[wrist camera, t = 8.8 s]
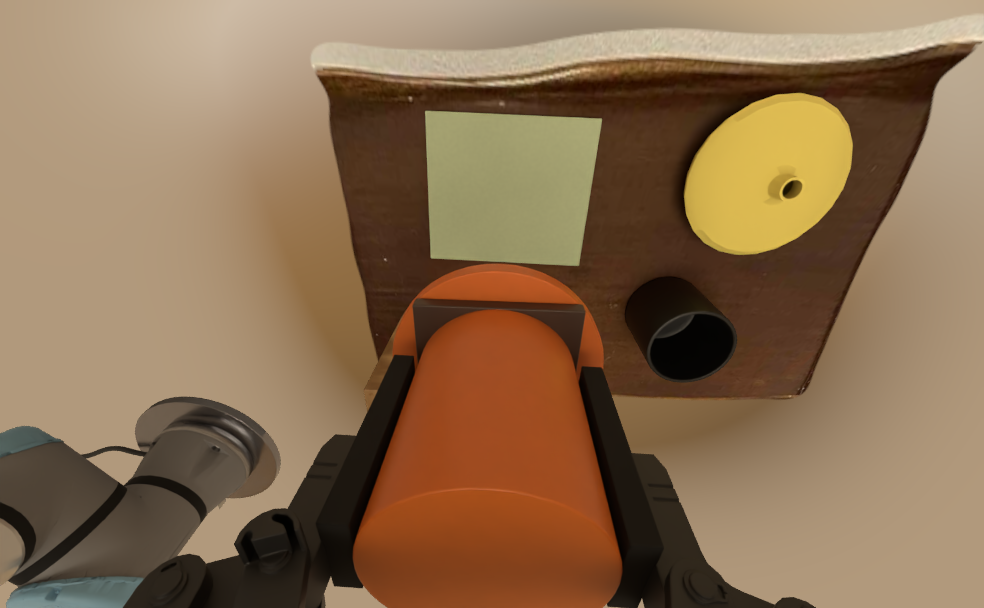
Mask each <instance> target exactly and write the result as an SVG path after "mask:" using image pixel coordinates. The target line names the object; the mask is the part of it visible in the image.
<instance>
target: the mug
mask: <svg viewBox="0 0 984 608" xmlns="http://www.w3.org/2000/svg"><path fill="white" fill-rule="evenodd" d="M625 318H626V323H627V325H628V328H629V329H630V331H631V333H632V335H633V337H634V339H635V340H636V342H637V344H638V346H639V348H640V350H641V351H642V353H643V355H644V357H645V359H646V361H647V363H648V364H649V366H650V368H651V369H652V370H653V371H654V372H655V373H656V374H657V375H658V376H660V377H662V378H664V379H666V380H669V381H673V382H693V381H698V380H701V379H704V378H706V377H709V376H711V375H712V374H714V373H716V372H717V371H719V370H720V369H721V368H722V367H724V366H725V365H726V364H727V362H728V361H729V360H730V359H731V357H732V355H733V353H734V351H735V348H736V344H737V334H736V330H735V328H734V326H733V324H732V323H731V322H730V321H729V320H728V319H727V318H726V317H725V316H724V315H723V314H722V313H721V312H720V311H719V310H718V309H717V308H716V307H715V306H714V305H713V304H712V303H711V302H710V301H709V300H708V299H707V298H706V297H705V296H704V295H702V294H701V293H700V292H699V291H698V290H697V289H696V288H695V287H694V286H693V285H692V284H691V283H689V282H687V281H685V280H683V279H680V278H670V277H666V278H659V279H656V280H653V281H650V282H648V283H646V284H645V285H643V286H642V287H640V288H639V289H638V290H637V291H636V292H635V293H634V294H633V295H632V297H631V298H630V300H629V302H628V305H627V308H626V313H625Z"/></svg>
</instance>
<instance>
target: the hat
mask: <svg viewBox="0 0 984 608" xmlns="http://www.w3.org/2000/svg"><path fill="white" fill-rule="evenodd" d="M392 355H393V357H394V355H410V356H414V362H415V374H414V377H413V380H412V383H411V385H410V388H409V391H408V394H407V397H406V399H405V402H404V405H403V408H402V410H401V413H400V416H399V419H398V422H397V424H396V427H395V430H394V433H393V436H392V438H391V441H390V444H389V447H388V449H387V452H386V455H385V458H384V461H383V463H382V466H381V469H380V472H379V474H378V477H377V480H376V483H375V486H374V488H373V491H372V494H371V497H370V499H369V502H368V505H367V508H366V511H365V513H364V516H363V519H362V522H361V525H360V527H359V530H358V533H357V536H356V539H355V542H354V545H353V563H354V568H355V571H356V573H357V576H358V578H359V579H360V581H361V583H362V584H363V586H364V587H365V588H366V589H367V590H368V592H369V593H370V594H371V595H372V596H373V597H375V598H376V599H377V600H378V601H379V602H380V603H382V604H383V605H385V606H386V607H387V608H603V607H604V606H605V605H606V604H607V603H608V602H609V601H610V600H611V598H612V597H613V596H614V594H615V593H616V591H617V589H618V587H619V585H620V582H621V577H622V559H621V555H620V551H619V546H618V542H617V538H616V534H615V530H614V526H613V522H612V518H611V514H610V510H609V506H608V501H607V497H606V493H605V489H604V485H603V481H602V477H601V473H600V469H599V465H598V461H597V456H596V452H595V448H594V444H593V440H592V436H591V432H590V428H589V424H588V420H587V416H586V412H585V407H584V403H583V399H582V395H581V391H580V387H579V378H580V373H581V367H582V366H588V367H602V369H603V364H604V354H603V346H602V341H601V337H600V334H599V332H598V329H597V327H596V324H595V322H594V319H593V317H592V315H591V314H590V312H589V310H588V308H587V307H586V306H585V304H584V303H583V302H582V301H581V299H580V298H579V297H578V296H577V295H576V294H575V293H574V292H573V291H571V290H570V289H569V288H568V287H567V286H565V285H564V284H562V283H561V282H559V281H558V280H556V279H554V278H552V277H550V276H548V275H547V274H545V273H542V272H539V271H536V270H534V269H531V268H527V267H522V266H518V265H510V264H482V265H475V266H469V267H466V268H462V269H459V270H456V271H453V272H451V273H449V274H446V275H444V276H442V277H440V278H439V279H437V280H435V281H434V282H432V283H431V284H430V285H428V286H427V287H426V288H425V289H423V290H422V291H421V292H420V293H419V294H418V295H417V296H416V297H415V299H414V300H413V301H412V302H411V304H410V305H409V307H408V308H407V310H406V311H405V313H404V315H403V317H402V319H401V321H400V324H399V326H398V328H397V330H396V334H395V337H394V342H393V351H392Z"/></svg>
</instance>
